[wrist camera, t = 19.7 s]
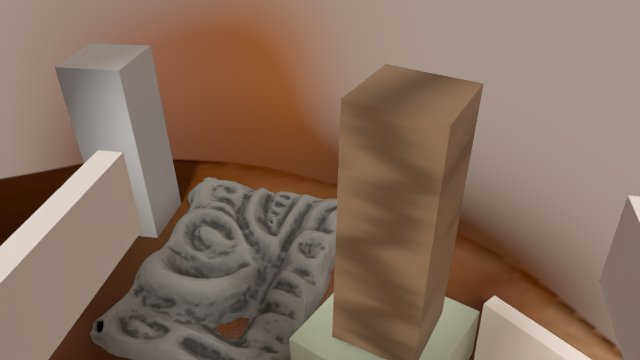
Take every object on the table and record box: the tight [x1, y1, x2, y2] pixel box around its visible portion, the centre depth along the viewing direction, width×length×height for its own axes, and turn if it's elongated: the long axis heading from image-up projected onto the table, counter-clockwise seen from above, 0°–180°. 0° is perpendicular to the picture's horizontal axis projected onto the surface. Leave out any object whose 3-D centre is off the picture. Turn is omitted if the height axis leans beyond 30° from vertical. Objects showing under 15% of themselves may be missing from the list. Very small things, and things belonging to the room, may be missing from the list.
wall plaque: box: [90, 177, 337, 360], centre depth 52 cm, size 24×19×4 cm
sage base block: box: [289, 293, 480, 360], centre depth 42 cm, size 10×10×5 cm
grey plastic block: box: [55, 43, 181, 238], centre depth 56 cm, size 6×6×18 cm
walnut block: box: [332, 64, 483, 360], centre depth 36 cm, size 6×6×18 cm
